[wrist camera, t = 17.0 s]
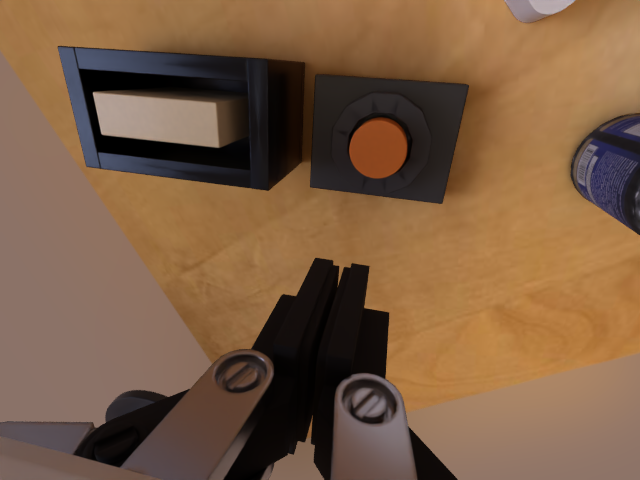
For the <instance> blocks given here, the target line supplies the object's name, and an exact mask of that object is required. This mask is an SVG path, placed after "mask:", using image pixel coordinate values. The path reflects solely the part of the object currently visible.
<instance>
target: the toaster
mask: <svg viewBox="0 0 640 480" xmlns="http://www.w3.org/2000/svg"><path fill="white" fill-rule="evenodd" d="M58 51H59V55H60V59H61V63H62V67H63V71H64V76H65V80H66V84H67V88H68V92H69V96H70V100H71V105H72V109H73V113H74V117H75V121H76V125H77V130H78V134H79V138H80V142H81V146H82V150H83V154H84V159H85V163H86V166H87V167H92V168H99V169H107V170H114V171H122V172H130V173H137V174H145V175H153V176H160V177H168V178H176V179H183V180H191V181H199V182H206V183H214V184H222V185H229V186H237V187H245V188H252V189H260V190H267V191H269V190H270V189H271V188H272V187H273V186H275V185H276V184H277V183H278V182H279V181H281V180H282V179H283V178H284V177H285V176H286V175H288V174H289V173H290V172H291V171H292V170H293V169H295V168H296V167H297V166H298V165H299V164H300V163H301V162H302V135H303V106H304V77H305V63H304V62H295V61H285V60H274V59H262V58H246V57H230V56H213V55H197V54H181V53H165V52H149V51H133V50H116V49H100V48H84V47H68V46H58ZM163 87H179V88H192V89H204V90H217V91H229V92H242V93H248V102H249V134H250V136H247V137H245V138H242V139H240V140H237V141H235V142H232V143H230V144H227V145H225V146H222V147H220V148H215V147H206V146H197V145H188V144H179V143H170V142H161V141H152V140H143V139H134V138H125V137H116V136H107V135H102V134H101V129H100V125H99V120H98V115H97V111H96V106H95V101H94V96H93V92H99V91H115V90H131V89H147V88H163Z"/></svg>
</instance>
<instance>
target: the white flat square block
mask: <svg viewBox="0 0 640 480" xmlns="http://www.w3.org/2000/svg"><path fill="white" fill-rule="evenodd" d="M93 96H94V101H95V106H96V111H97V115H98V120H99V125H100V129H101V134H102V135H107V136H116V137H125V138H134V139H143V140H152V141H161V142H170V143H179V144H188V145H197V146H206V147H215V148H220V147H222V146H225V145H227V144H230V143H232V142H235V141H237V140H240V139H242V138H245V137H247V136H250V134H249V102H248V93H242V92H229V91H217V90H204V89H192V88H179V87H163V88H147V89H131V90H115V91H99V92H93Z"/></svg>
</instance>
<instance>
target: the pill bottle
mask: <svg viewBox="0 0 640 480" xmlns="http://www.w3.org/2000/svg"><path fill="white" fill-rule="evenodd" d="M571 179H572V181H573V184H574V186H575V188H576V189H577V191H578V192H579V193H580V194H581V195H582V196H583V197H584V198H586V199H587V200H588V201H591V202H592V203H593V204H595V205H596V206H598V207H599V208H601V209H602V210H604V211H605V212H607V213H608V214H609V215H611V216H612V217H614V218H615V219H617V220H618V221H620V222H621V223H623V224H624V225H626V226H627V227H629V228H630V229H632V230H633V231H634V232H636V233H637V234H639V235H640V114H632V115H624V116H619V117H617V118H614V119H612V120H610V121H608V122H606V123H604V124H602V125H601V126H599V127H598V128H597V129H596V130H594V131H593V132H592V133H590V134H589V135H588V136H587V137H586V138H585V139H584V140H583V141H582V143H581V144H580V146H579V147H578V148H577V151H576V152H575V155H574V157H573V159H572V164H571Z"/></svg>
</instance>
